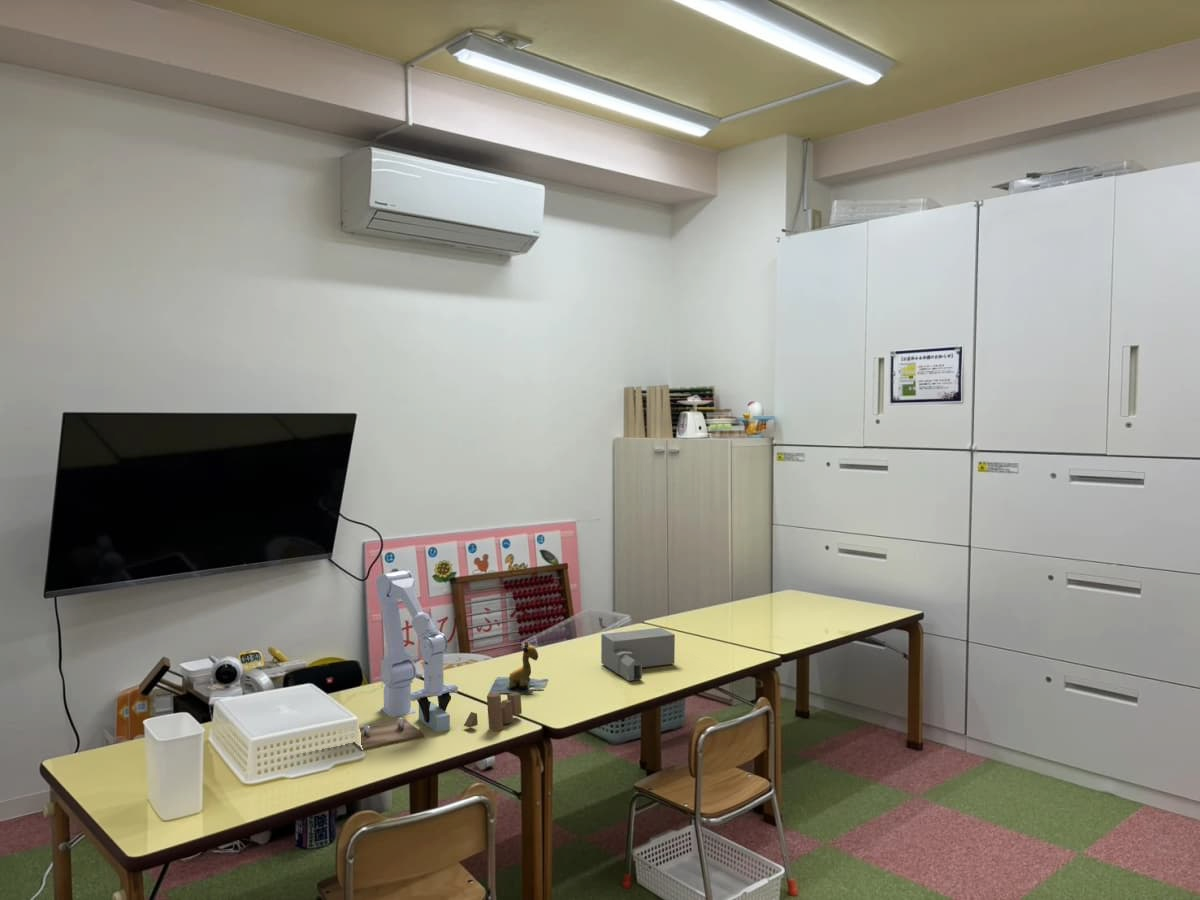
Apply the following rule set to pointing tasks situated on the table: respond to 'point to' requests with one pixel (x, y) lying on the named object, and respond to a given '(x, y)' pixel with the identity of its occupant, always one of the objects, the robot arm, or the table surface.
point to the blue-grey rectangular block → (436, 718)
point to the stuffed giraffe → (520, 677)
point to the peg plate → (388, 733)
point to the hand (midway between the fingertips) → (434, 720)
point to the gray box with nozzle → (637, 651)
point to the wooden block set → (498, 711)
